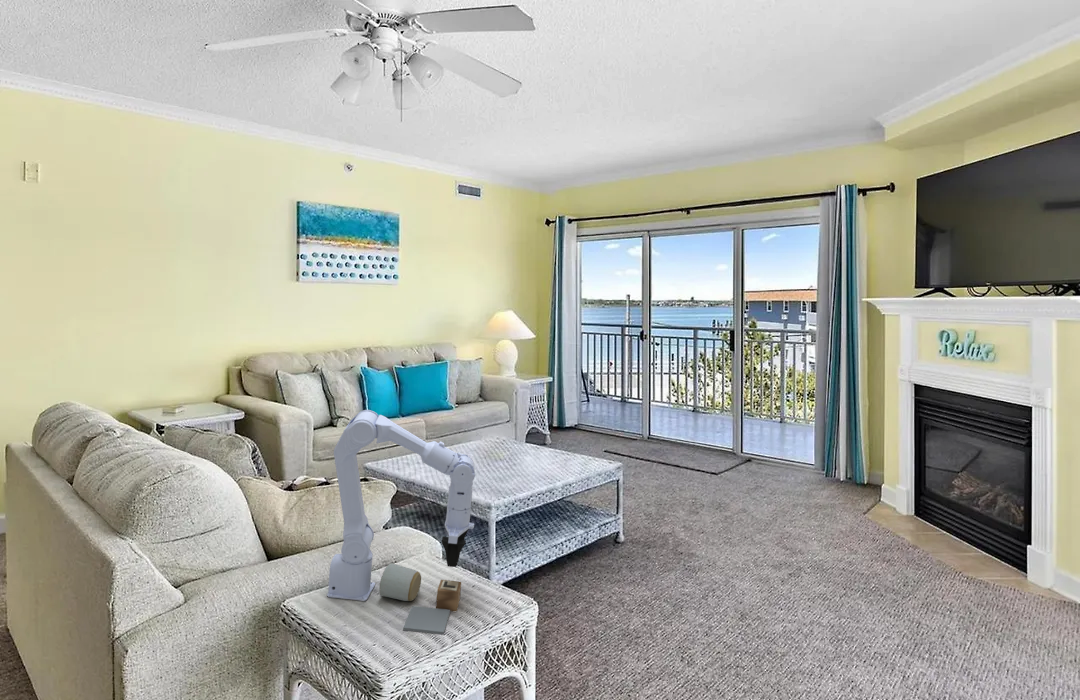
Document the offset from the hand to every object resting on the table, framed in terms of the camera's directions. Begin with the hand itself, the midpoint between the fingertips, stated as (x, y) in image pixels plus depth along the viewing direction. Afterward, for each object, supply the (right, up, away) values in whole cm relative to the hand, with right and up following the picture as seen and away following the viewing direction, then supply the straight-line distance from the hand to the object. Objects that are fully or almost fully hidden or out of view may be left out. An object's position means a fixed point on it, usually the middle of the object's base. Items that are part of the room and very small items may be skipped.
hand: (454, 558), depth 154 cm
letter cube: (-1, -10, -4) cm, 11 cm away
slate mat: (-5, -11, -11) cm, 16 cm away
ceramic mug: (-13, -9, -1) cm, 16 cm away
